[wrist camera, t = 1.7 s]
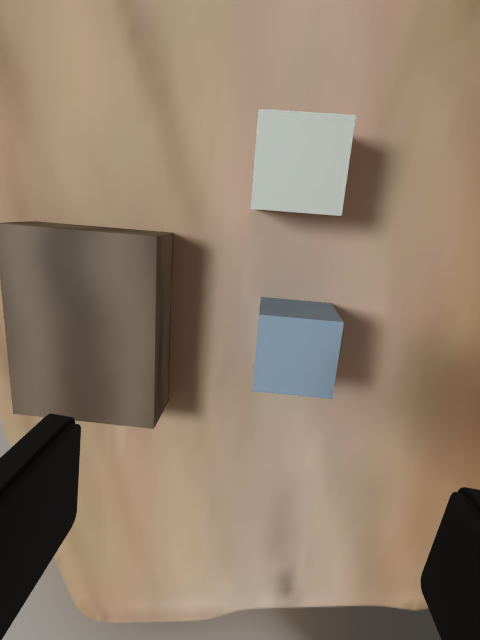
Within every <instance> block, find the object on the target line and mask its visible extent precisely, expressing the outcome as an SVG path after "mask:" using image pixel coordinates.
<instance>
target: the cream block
mask: <svg viewBox="0 0 480 640" xmlns="http://www.w3.org/2000/svg"><path fill="white" fill-rule="evenodd" d="M355 118H356V115H345V114H330V113H315V112H299V111H284V110H269V109H259V110H258V123H257V136H256V148H255V161H254V174H253V186H252V199H251V209H259V210H272V211H285V212H297V213H310V214H323V215H336V216H342V210H343V203H344V196H345V189H346V182H347V175H348V168H349V161H350V154H351V147H352V140H353V132H354V125H355Z"/></svg>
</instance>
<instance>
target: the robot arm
mask: <svg viewBox="0 0 480 640" xmlns="http://www.w3.org/2000/svg"><path fill="white" fill-rule="evenodd" d="M80 437H81V427H80V425H79V424H75V420H74V418H73V417H69V416H63V415H58V414H48V415H47V416H46V417H44V418H43V419H42V420H41V421H40V422H39V423H38V424H37V425H36V426H35V427H34V428H32V429H31V430H30V431H29V432H28V433H27V434H26V435H25V436H24V437H23V438H22V439H21V440H19V441H18V442H17V443H16V444H15V445H14V446H13V447H12V448H11V449H10V450H9V451H7V452H6V453H5V454H4V455H3V456H2V457H1V458H0V640H2V638H3V636H4V635H5V633H6V632H7V630H8V628H9V627H10V625H11V624H12V622H13V620H14V619H15V617H16V616H17V614H18V613H19V611H20V609H21V608H22V606H23V605H24V603H25V601H26V600H27V598H28V596H29V595H30V593H31V592H32V590H33V588H34V587H35V585H36V584H37V582H38V580H39V579H40V577H41V576H42V574H43V572H44V571H45V569H46V568H47V566H48V564H49V563H50V561H51V560H52V558H53V556H54V555H55V553H56V552H57V550H58V548H59V547H60V545H61V544H62V542H63V540H64V539H65V537H66V536H67V534H68V532H69V531H70V529H71V527H72V525H73V523H74V520H75V517H76V513H77V496H78V476H79V456H80ZM421 589H422V592H423V595H424V598H425V600H426V603H427V605H428V608H429V610H430V612H431V615H432V617H433V620H434V622H435V625H436V627H437V629H438V632H439V635H440V637H441V639H442V640H480V490H477V489H471V488H466V487H463V488H460V489H459V490H458V492H454V493H452V495H451V496H450V499H449V502H448V504H447V507H446V510H445V513H444V515H443V518H442V521H441V523H440V526H439V529H438V532H437V534H436V537H435V540H434V543H433V545H432V548H431V551H430V553H429V556H428V559H427V562H426V564H425V567H424V570H423V572H422V576H421Z"/></svg>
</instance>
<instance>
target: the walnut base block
mask: <svg viewBox="0 0 480 640" xmlns="http://www.w3.org/2000/svg"><path fill="white" fill-rule="evenodd" d="M172 242H173V233H169V232H157V231H145V230H132V229H120V228H108V227H96V226H83V225H71V224H59V223H47V222H34V221H32V222H9V223H0V279H1V290H2V300H3V311H4V321H5V332H6V342H7V353H8V363H9V374H10V384H11V395H12V405H13V414H21V415H30V416H39V417H46V416H47V415H48V414H58V415H63V416H69V417H73V418H74V420H77V421H86V422H95V423H105V424H114V425H123V426H133V427H142V428H151V429H154V427H155V425H156V424H157V422H158V420H159V418H160V416H161V414H162V412H163V410H164V408H165V407H166V405H167V403H168V391H169V354H170V317H171V279H172Z"/></svg>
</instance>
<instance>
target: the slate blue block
mask: <svg viewBox="0 0 480 640" xmlns="http://www.w3.org/2000/svg"><path fill="white" fill-rule="evenodd" d="M343 325H344V322H343V320H342V319H341V317H340V316H339V314H338V313H337V311H336V310H335V308H334V307H333V305H332V304H331V303H323V302H311V301H300V300H288V299H277V298H265V297H261V301H260V312H259V323H258V334H257V345H256V356H255V367H254V379H253V390H252V391H256V392H266V393H276V394H287V395H297V396H307V397H317V398H327V399H332V397H333V391H334V384H335V378H336V371H337V365H338V358H339V352H340V345H341V338H342V332H343Z"/></svg>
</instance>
